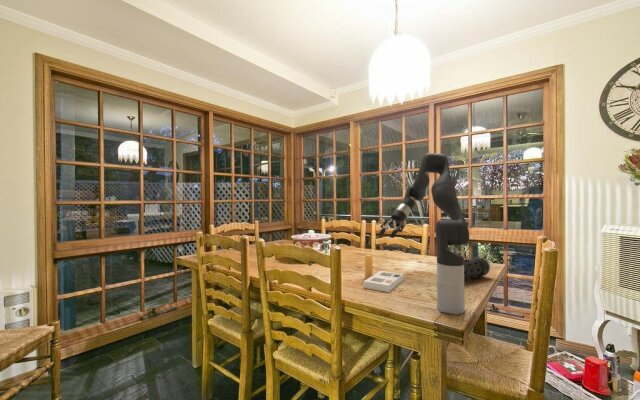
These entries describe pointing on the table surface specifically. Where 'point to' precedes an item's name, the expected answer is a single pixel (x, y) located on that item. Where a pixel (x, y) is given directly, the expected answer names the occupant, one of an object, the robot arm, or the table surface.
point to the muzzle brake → (475, 267)
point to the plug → (368, 266)
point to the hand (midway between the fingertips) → (385, 235)
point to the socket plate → (384, 281)
